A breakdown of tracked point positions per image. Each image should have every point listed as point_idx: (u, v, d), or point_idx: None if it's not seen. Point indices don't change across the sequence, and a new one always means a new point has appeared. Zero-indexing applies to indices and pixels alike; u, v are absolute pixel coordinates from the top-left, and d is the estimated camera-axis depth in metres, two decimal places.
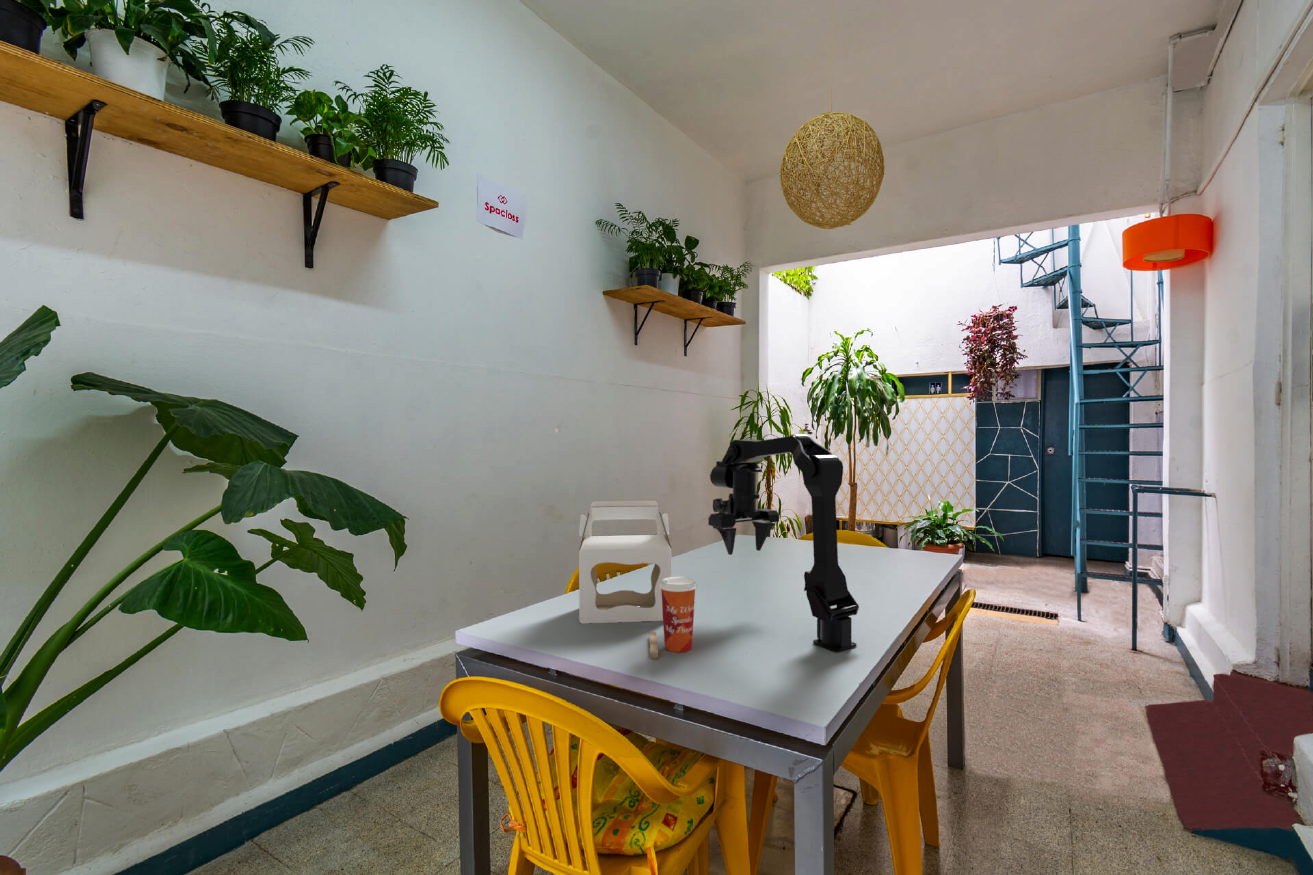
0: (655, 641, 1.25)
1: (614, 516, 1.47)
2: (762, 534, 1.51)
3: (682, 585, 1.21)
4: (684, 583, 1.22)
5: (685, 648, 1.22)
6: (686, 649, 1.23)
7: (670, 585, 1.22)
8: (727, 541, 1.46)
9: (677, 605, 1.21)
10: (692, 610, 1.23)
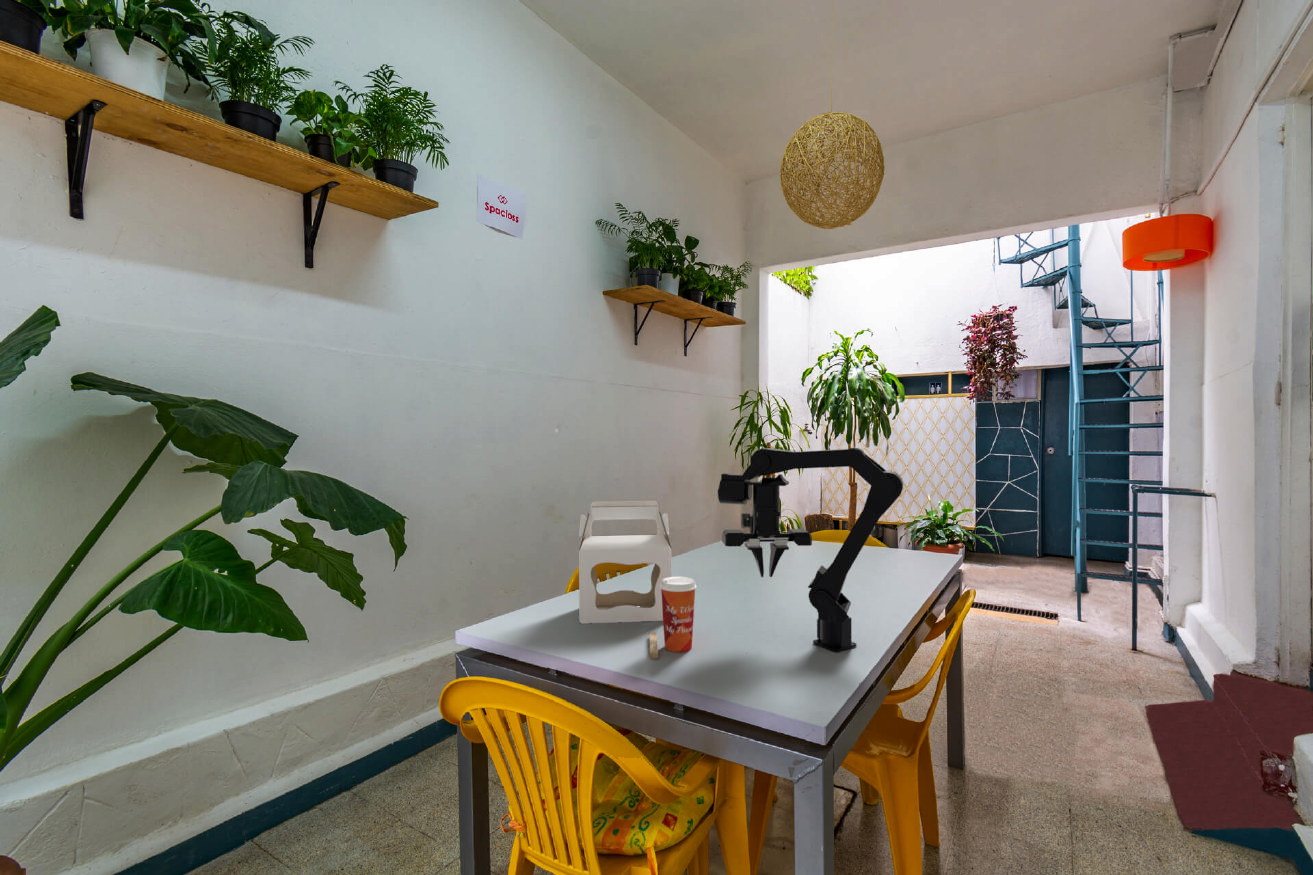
0: (655, 641, 1.25)
1: (613, 516, 1.47)
2: (772, 558, 1.30)
3: (682, 585, 1.21)
4: (684, 583, 1.22)
5: (685, 648, 1.22)
6: (686, 649, 1.23)
7: (670, 585, 1.22)
8: (757, 561, 1.31)
9: (677, 605, 1.21)
10: (692, 610, 1.23)
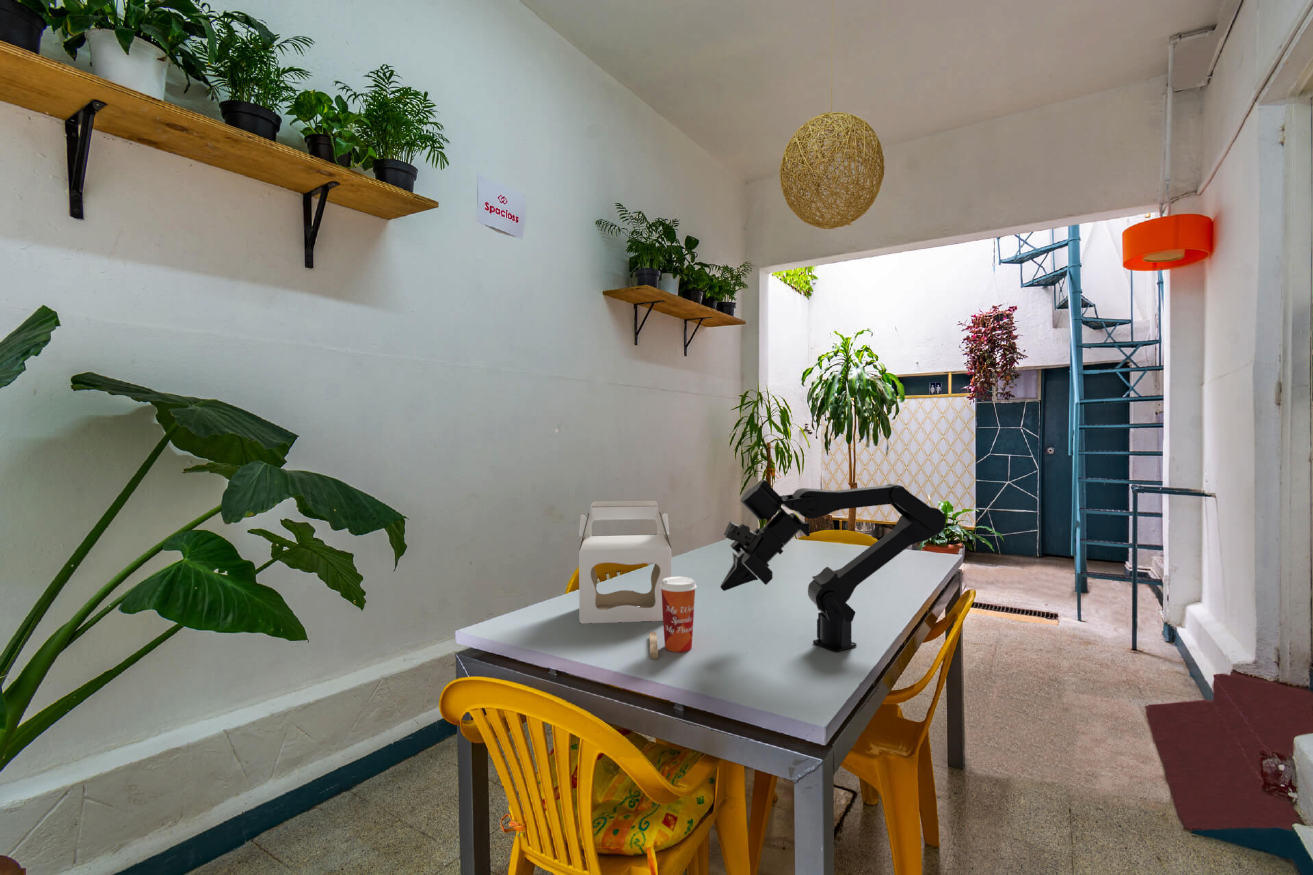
0: (655, 641, 1.25)
1: (614, 516, 1.47)
2: None
3: (682, 585, 1.21)
4: (684, 583, 1.22)
5: (685, 648, 1.22)
6: (686, 649, 1.23)
7: (670, 585, 1.22)
8: (735, 580, 1.24)
9: (677, 605, 1.21)
10: (692, 610, 1.23)
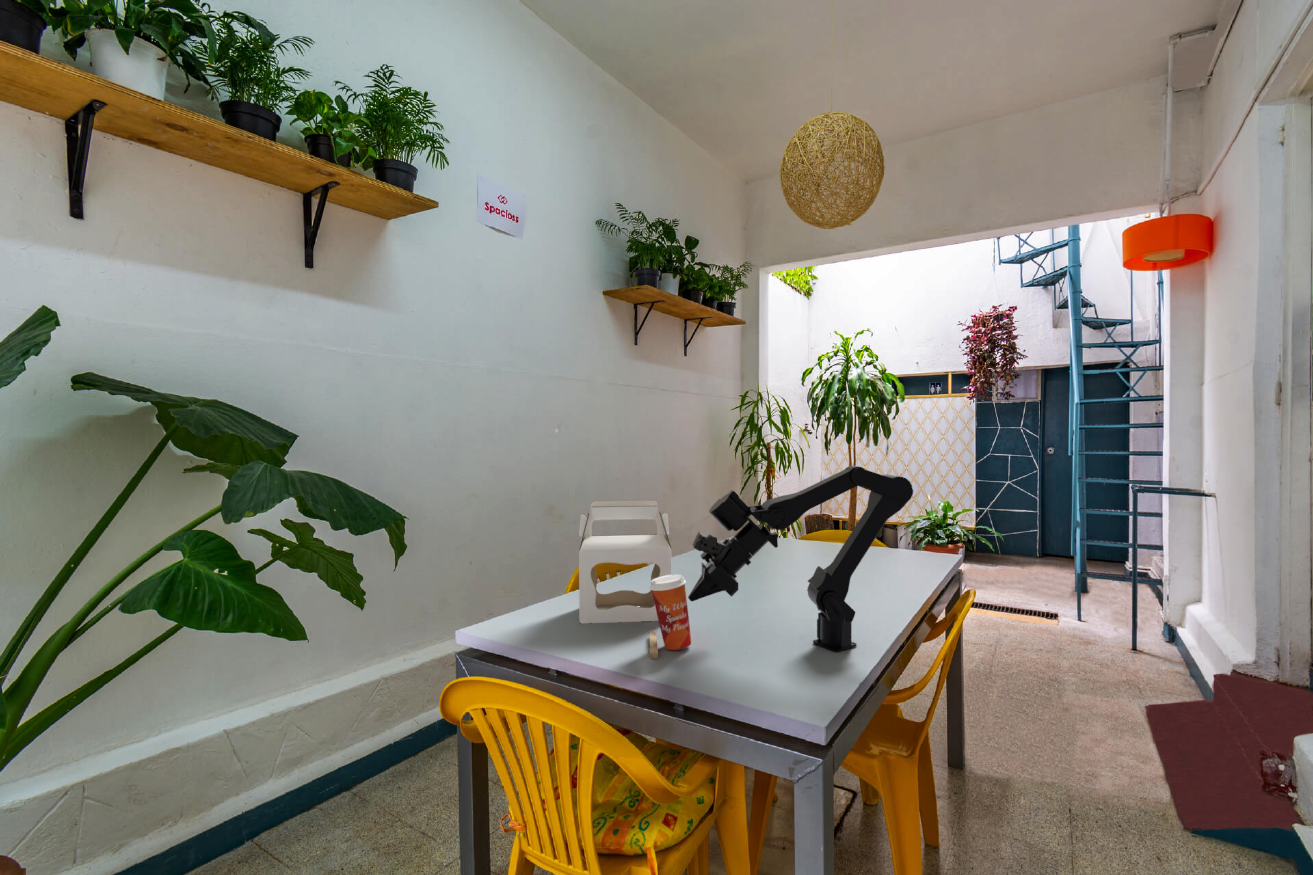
0: (655, 641, 1.25)
1: (614, 516, 1.47)
2: None
3: (670, 582, 1.22)
4: (672, 580, 1.23)
5: (684, 644, 1.22)
6: (685, 645, 1.23)
7: (658, 584, 1.22)
8: (703, 591, 1.24)
9: (669, 603, 1.22)
10: (685, 606, 1.23)
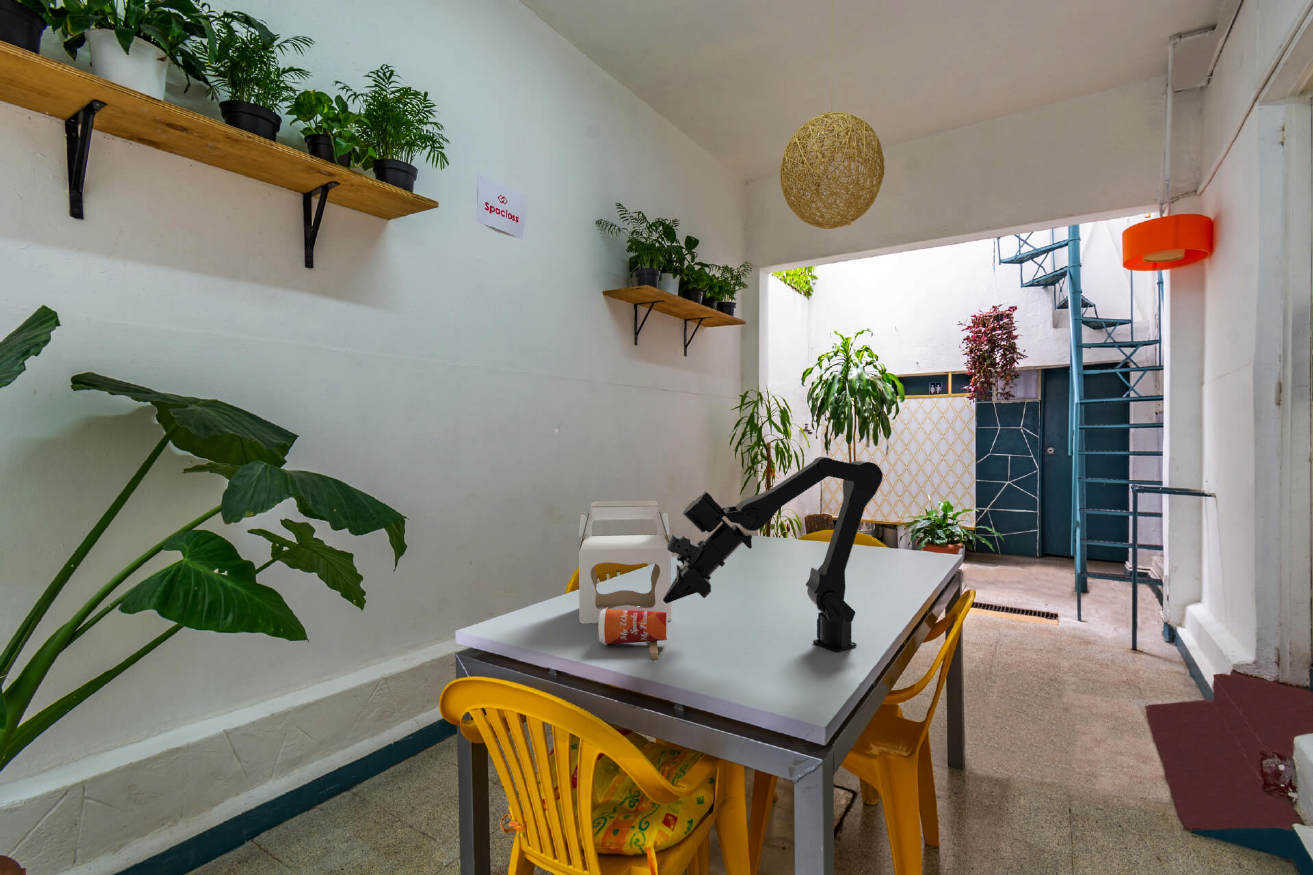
0: (655, 641, 1.25)
1: (613, 516, 1.47)
2: None
3: (599, 623, 1.24)
4: (599, 620, 1.25)
5: (663, 619, 1.24)
6: (664, 618, 1.24)
7: (599, 635, 1.23)
8: (677, 592, 1.23)
9: (618, 628, 1.23)
10: (627, 612, 1.26)
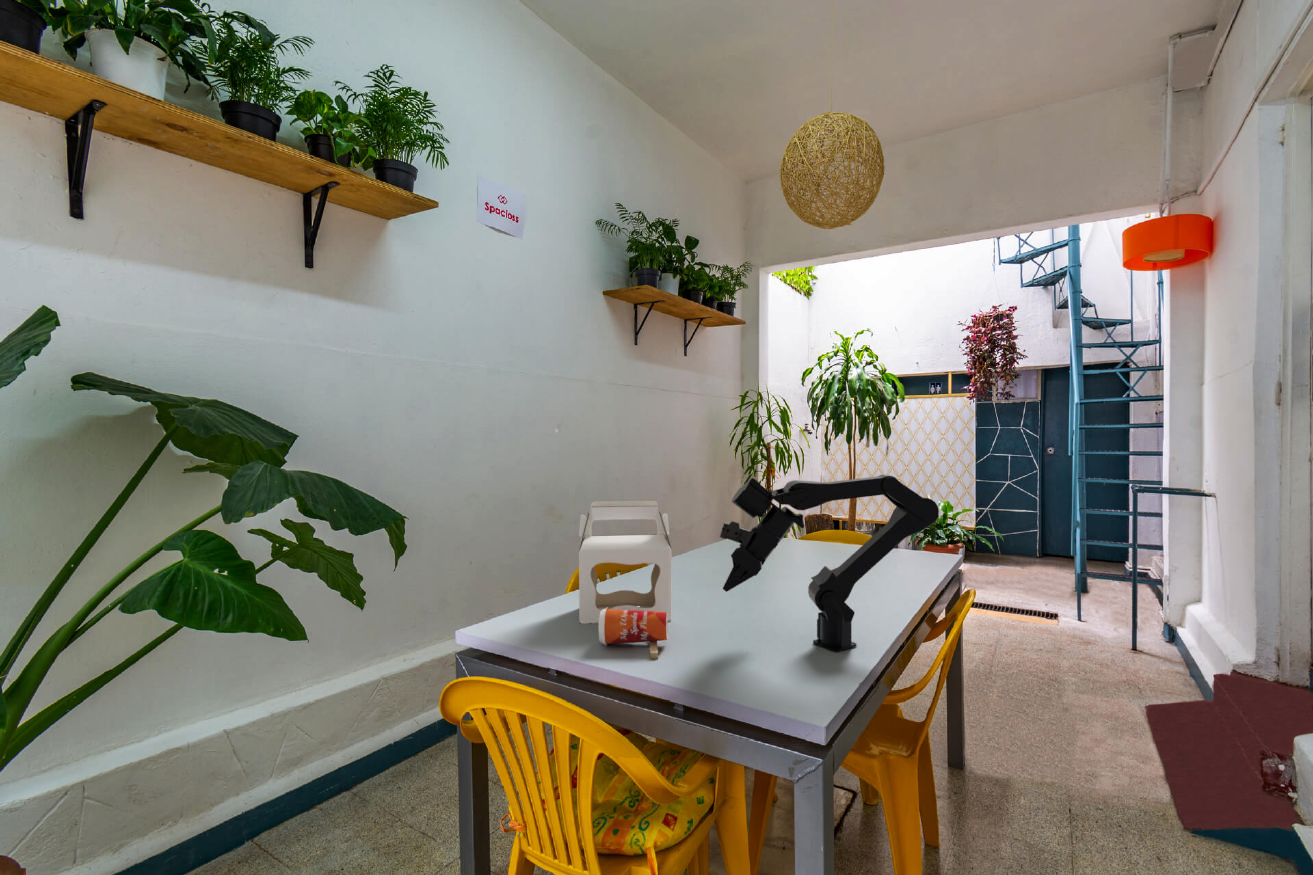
0: (655, 641, 1.25)
1: (613, 516, 1.47)
2: None
3: (599, 623, 1.24)
4: (599, 620, 1.25)
5: (663, 619, 1.24)
6: (664, 618, 1.24)
7: (599, 635, 1.23)
8: (735, 579, 1.25)
9: (618, 628, 1.23)
10: (627, 612, 1.26)
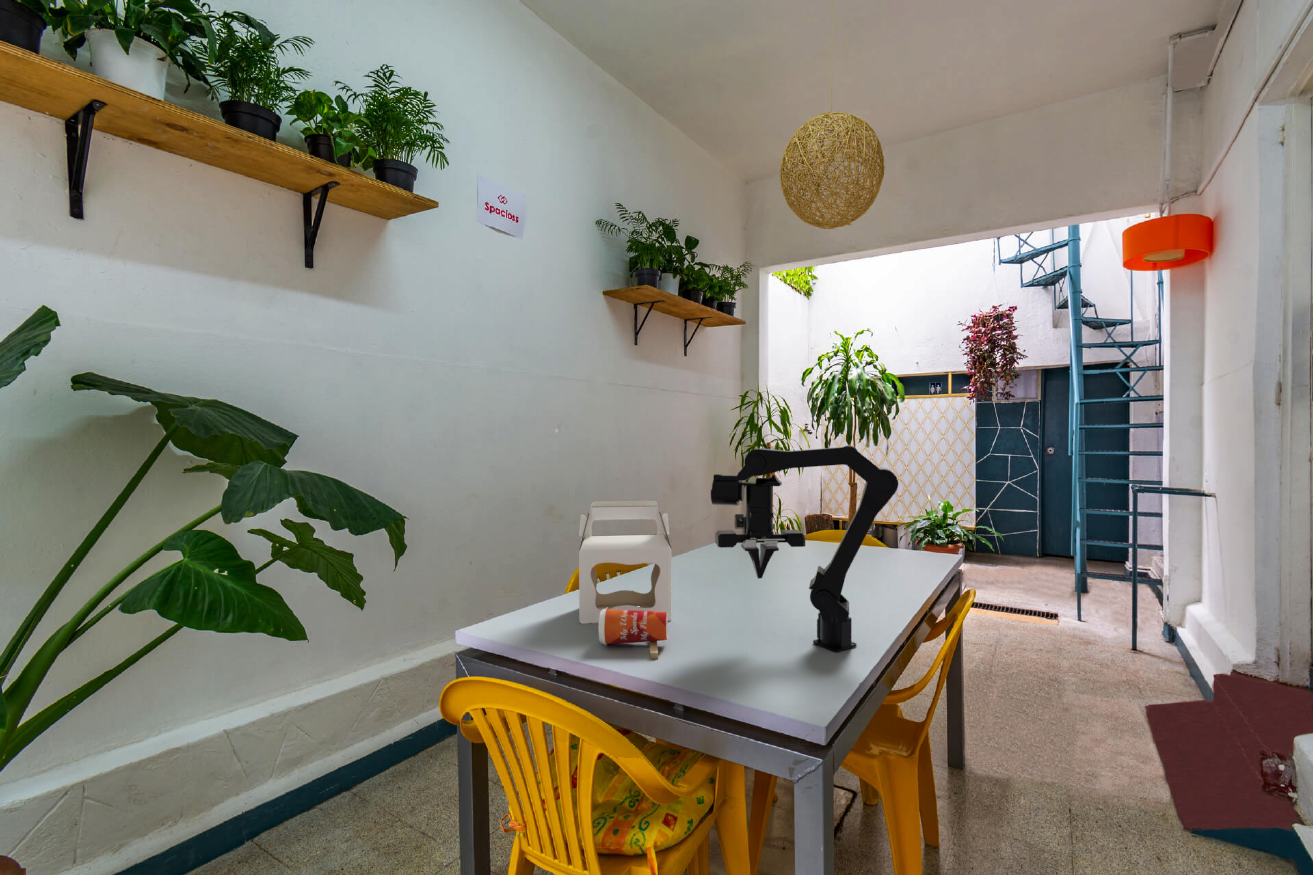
0: (655, 641, 1.25)
1: (614, 516, 1.47)
2: (762, 560, 1.29)
3: (599, 623, 1.24)
4: (599, 620, 1.25)
5: (663, 619, 1.24)
6: (664, 618, 1.24)
7: (599, 635, 1.23)
8: (753, 562, 1.30)
9: (618, 628, 1.23)
10: (627, 612, 1.26)
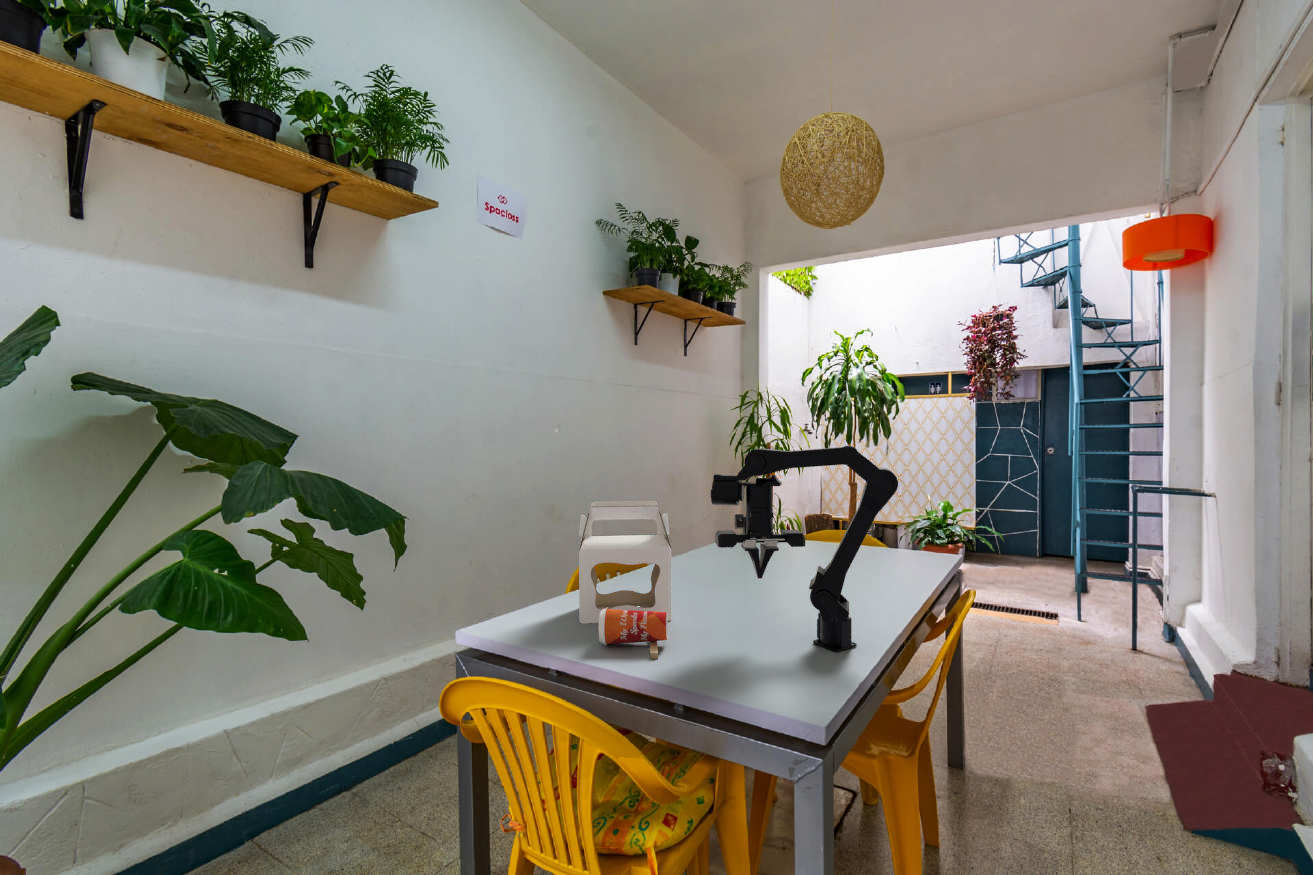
0: (655, 641, 1.25)
1: (613, 516, 1.47)
2: (762, 560, 1.29)
3: (599, 623, 1.24)
4: (599, 620, 1.25)
5: (663, 619, 1.24)
6: (664, 618, 1.24)
7: (599, 635, 1.23)
8: (753, 562, 1.30)
9: (618, 628, 1.23)
10: (627, 612, 1.26)
